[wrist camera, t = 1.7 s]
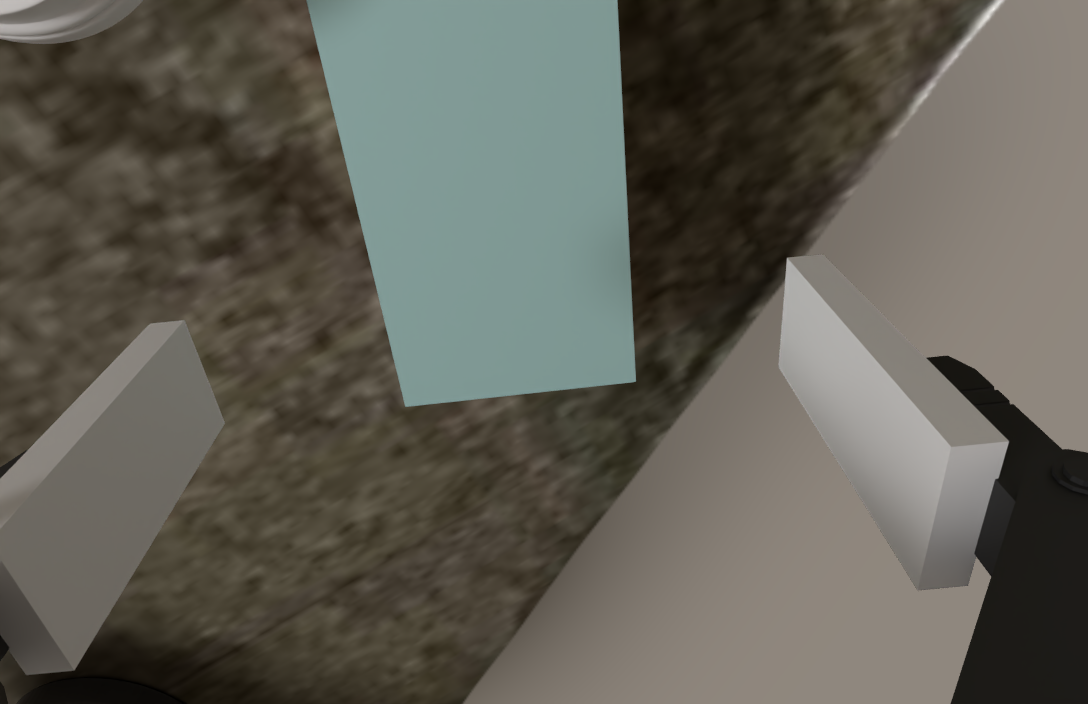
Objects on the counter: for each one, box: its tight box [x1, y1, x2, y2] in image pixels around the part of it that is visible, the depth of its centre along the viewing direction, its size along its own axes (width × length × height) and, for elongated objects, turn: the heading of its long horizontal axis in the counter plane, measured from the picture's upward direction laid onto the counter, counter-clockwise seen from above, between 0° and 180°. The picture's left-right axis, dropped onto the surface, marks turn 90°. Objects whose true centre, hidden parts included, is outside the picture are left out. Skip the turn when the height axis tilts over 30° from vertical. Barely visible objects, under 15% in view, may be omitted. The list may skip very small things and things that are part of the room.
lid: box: [307, 0, 636, 407], centre depth 26 cm, size 10×18×3 cm, turn 6°
